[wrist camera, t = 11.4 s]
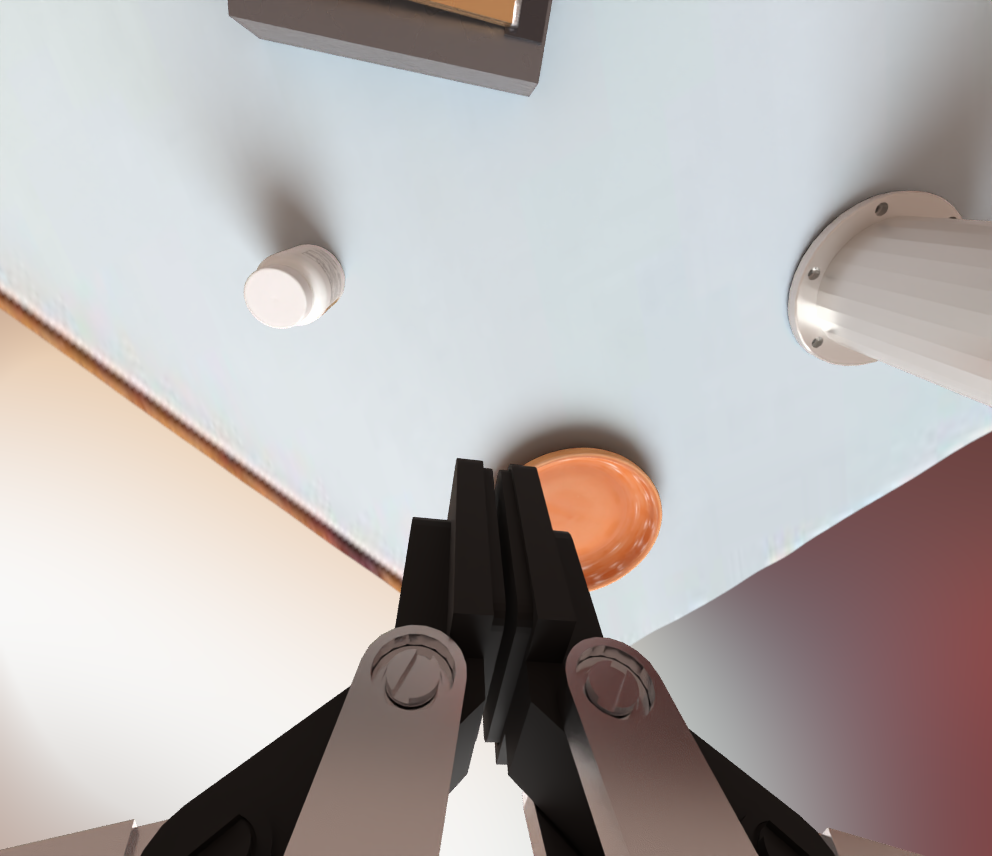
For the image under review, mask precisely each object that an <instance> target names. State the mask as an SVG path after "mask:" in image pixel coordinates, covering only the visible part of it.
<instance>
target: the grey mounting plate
mask: <svg viewBox="0 0 992 856" xmlns="http://www.w3.org/2000/svg"><path fill="white" fill-rule="evenodd" d="M551 5H552V0H522V6H521V13H520V20H519V26H518V28H509V27H505V26H502V25H498V24H494V23H490V22H487V21H483V20H479V19H476V18H472V17H468V16H465V15H461V14H457V13H454V12H450V11H446V10H443V9H439V8H435V7H431V6H428V5H424V4H420V3H417V2H413V1H409V0H228V10H229V16H230V17H231V18H233V19H234V20H235V21H237V22H238V23H239V24H241V25H242V26H243V27H245V28H246V29H248V30H249V31H250V32H252V33H253V34H254V35H256V36H257V37H258V38H260V39H264V40H269V41H273V42H278V43H283V44H287V45H292V46H296V47H301V48H306V49H310V50H315V51H320V52H324V53H329V54H333V55H338V56H343V57H347V58H352V59H357V60H361V61H366V62H371V63H375V64H380V65H384V66H389V67H394V68H398V69H403V70H408V71H412V72H417V73H422V74H426V75H431V76H435V77H440V78H445V79H449V80H454V81H459V82H463V83H468V84H472V85H477V86H482V87H486V88H491V89H496V90H500V91H505V92H510V93H514V94H519V95H523V96H528V97H529V96H530V95H531V93H532V92H533V90H534V89H535V87H536V86H537V85H538V81H539V76H540V70H541V64H542V58H543V52H544V46H545V40H546V34H547V28H548V22H549V16H550V10H551Z"/></svg>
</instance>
